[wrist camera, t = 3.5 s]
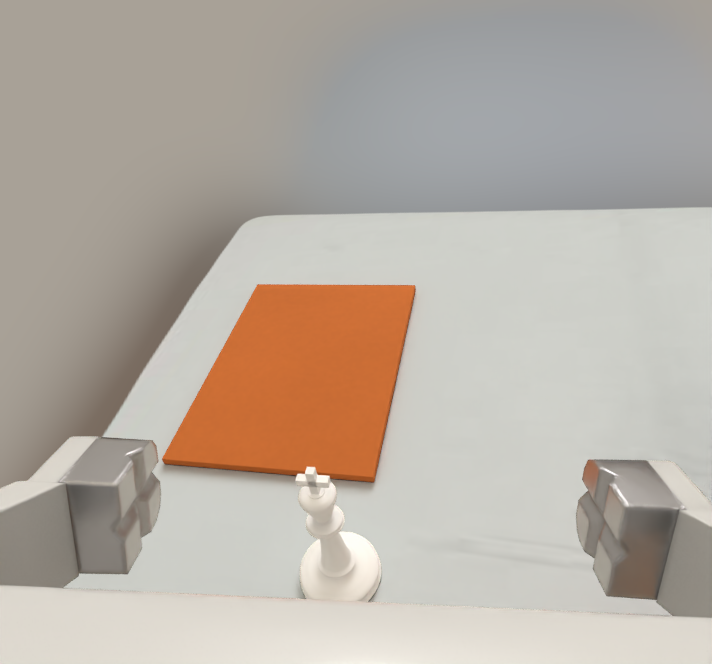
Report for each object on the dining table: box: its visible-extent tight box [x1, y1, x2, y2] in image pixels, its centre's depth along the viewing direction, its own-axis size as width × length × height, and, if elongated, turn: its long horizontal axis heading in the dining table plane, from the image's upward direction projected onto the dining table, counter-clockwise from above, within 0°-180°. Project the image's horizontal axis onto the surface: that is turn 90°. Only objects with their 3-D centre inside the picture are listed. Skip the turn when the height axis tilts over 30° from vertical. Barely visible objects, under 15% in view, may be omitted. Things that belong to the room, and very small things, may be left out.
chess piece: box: [295, 467, 381, 602], centre depth 33 cm, size 5×5×10 cm
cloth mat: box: [162, 284, 415, 482], centre depth 51 cm, size 22×16×1 cm
